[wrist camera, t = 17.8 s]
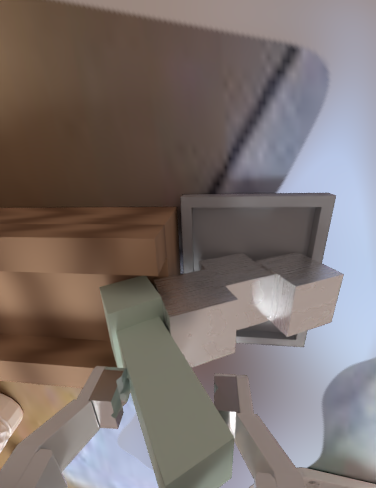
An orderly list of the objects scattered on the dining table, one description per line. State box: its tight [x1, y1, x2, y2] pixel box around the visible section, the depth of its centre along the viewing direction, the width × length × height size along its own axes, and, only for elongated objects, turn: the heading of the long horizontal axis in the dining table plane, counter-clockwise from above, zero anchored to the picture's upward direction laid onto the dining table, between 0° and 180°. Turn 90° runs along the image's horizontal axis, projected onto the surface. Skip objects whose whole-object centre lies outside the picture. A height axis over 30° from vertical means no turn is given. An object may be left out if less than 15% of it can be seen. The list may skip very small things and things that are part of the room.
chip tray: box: [181, 193, 336, 347], centre depth 20 cm, size 11×14×1 cm
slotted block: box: [0, 207, 180, 393], centre depth 18 cm, size 20×12×8 cm, turn 92°
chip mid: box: [199, 253, 274, 331], centre depth 17 cm, size 4×4×4 cm
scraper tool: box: [99, 276, 234, 488], centre depth 12 cm, size 3×5×10 cm
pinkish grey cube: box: [154, 269, 238, 368], centre depth 15 cm, size 4×4×4 cm
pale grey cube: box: [256, 252, 344, 337], centre depth 17 cm, size 4×4×4 cm
